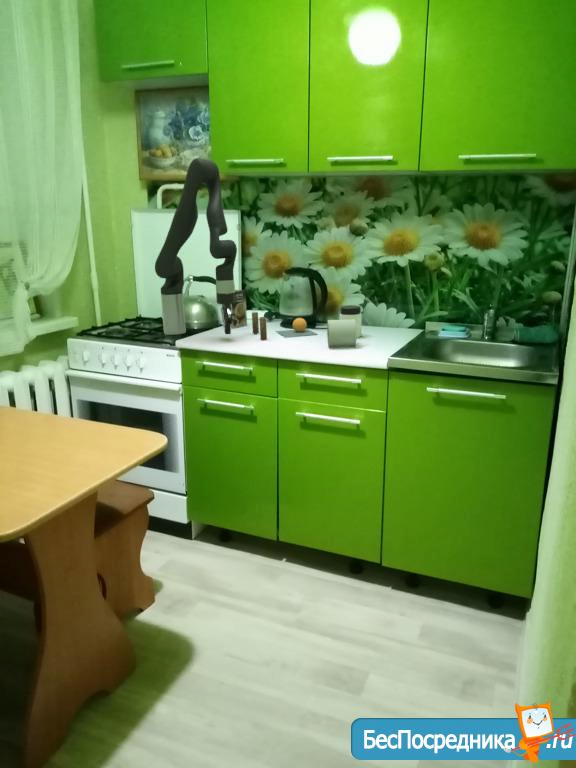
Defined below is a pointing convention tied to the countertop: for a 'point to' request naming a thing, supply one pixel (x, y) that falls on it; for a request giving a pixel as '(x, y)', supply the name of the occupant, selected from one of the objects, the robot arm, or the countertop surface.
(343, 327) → the toilet paper
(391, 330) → the countertop surface
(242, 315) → the coffee box
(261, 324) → the post
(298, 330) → the ball
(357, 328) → the jar
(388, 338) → the countertop surface
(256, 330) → the post
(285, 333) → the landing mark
